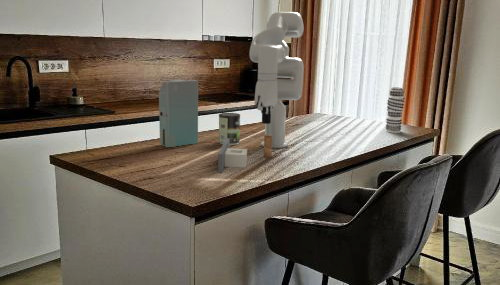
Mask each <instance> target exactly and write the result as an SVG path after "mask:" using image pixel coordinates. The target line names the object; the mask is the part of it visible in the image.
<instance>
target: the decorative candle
mask: <svg viewBox="0 0 500 285" xmlns="http://www.w3.org/2000/svg"><path fill="white" fill-rule="evenodd" d="M404 94H405V90H404V89H403V88H402V87H398V86H397V87H394V86H393V87H391V88H390V89H389V94H388V99H387V102H386V104H387V107H386V108H387V109H386V111H387V116H386V119H385V120H386V121H385V123H386V124H385V132H387V133H392V134H394V133H395V134H398V133H401V132H402V131H401V130H402V121H403V120H402V118H403V117H402V113H403V112H404V110H403V109H404V105H405V104H404V102H405V97H404Z"/></svg>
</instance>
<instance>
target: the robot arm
mask: <svg viewBox="0 0 500 285" xmlns="http://www.w3.org/2000/svg"><path fill="white" fill-rule="evenodd" d="M303 21H304V20H303V18H302V15H301V14H300V13H299V12H295V11H277V12H273V13H272V14H271V15H270V16H269V19H268V21H267V22H266V29H265V30H262V31H261V32H260V33H258V34H256V35H255V36H254V37H253V38H252V41H251V44H250V47H249V58H250V60H251V61H252V62H253V63H257V69H258V70H257V81H256V84H255V91H254V105H255V107H257V110H258V111H260V113H261V123H262V124H264V127H265V128H264V135H272V149H283V148H287V147H288V145H289V144H288V142H286V121H287V120H286V114H287V109H286V106H285V104H284V103H283V102H282V101H283V100H284V101H286V100H287V101H298V100H300V99H301V97H302V94H303V86H304V84H303V83H304V73H305V72H304V68H305V66H304V62H303V60H302V59H301V58H299V57H289V56H290V55H289V54H290V47H289V46H288V44H287V42H285V41H284V40H285V38H291V39H292V38H296V39H298V38H301V37H302V36H303V34H304V30H305V29H304V28H305V27H304V22H303ZM260 145H261V146H262V147H264V140H263V141H262V142H261V144H260Z"/></svg>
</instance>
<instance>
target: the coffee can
mask: <svg viewBox="0 0 500 285" xmlns="http://www.w3.org/2000/svg"><path fill="white" fill-rule="evenodd" d="M240 135H241V114H240V113H236V112H221V113H218V144H219V143H220V144H219V145H222V144H224V142H225V140H226V138H230V146H236V145H239V144H240V137H241V136H240Z"/></svg>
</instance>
